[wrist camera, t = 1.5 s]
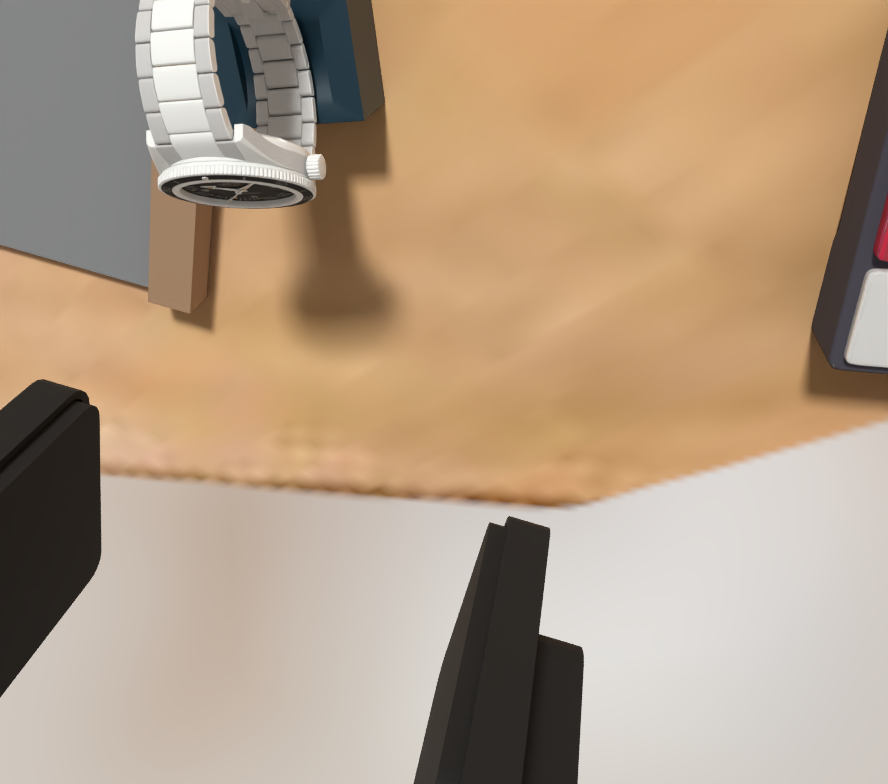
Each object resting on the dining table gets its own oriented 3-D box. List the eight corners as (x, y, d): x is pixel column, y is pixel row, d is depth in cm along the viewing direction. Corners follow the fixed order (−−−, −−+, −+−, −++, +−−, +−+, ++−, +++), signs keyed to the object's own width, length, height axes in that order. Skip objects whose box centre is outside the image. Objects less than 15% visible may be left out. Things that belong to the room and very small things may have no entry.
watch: (265, 159, 35) (137, 257, 26) (219, -57, 31) (48, -31, 22) (393, 151, 34) (307, 251, 25) (363, -74, 30) (246, -55, 21)
